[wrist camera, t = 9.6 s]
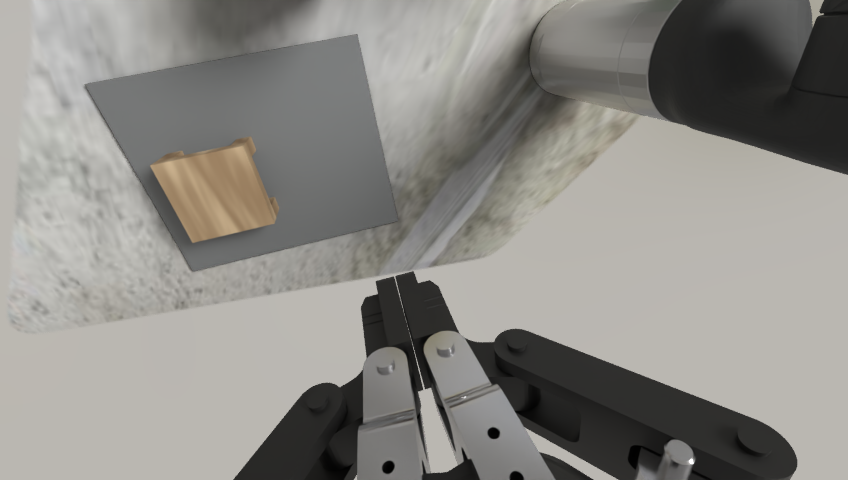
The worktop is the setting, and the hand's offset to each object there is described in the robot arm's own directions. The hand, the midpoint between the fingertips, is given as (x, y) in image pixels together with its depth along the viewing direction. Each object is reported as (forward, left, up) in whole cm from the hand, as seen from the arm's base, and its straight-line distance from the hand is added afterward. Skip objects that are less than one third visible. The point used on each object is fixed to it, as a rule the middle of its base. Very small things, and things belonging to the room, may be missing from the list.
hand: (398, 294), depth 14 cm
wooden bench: (+10, +2, -27) cm, 28 cm away
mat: (+10, +1, -29) cm, 31 cm away
